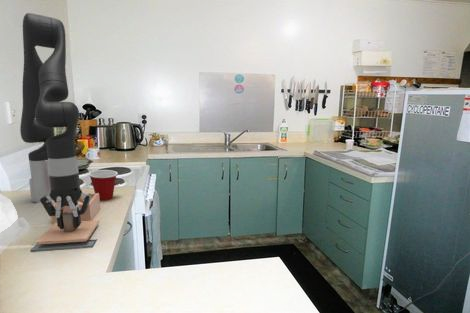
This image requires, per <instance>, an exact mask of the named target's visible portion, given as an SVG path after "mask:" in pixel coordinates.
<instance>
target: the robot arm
mask: <svg viewBox="0 0 470 313" xmlns="http://www.w3.org/2000/svg"><path fill="white" fill-rule="evenodd" d="M22 40H23V41H22V43H23V44H22V45H23V71H22V111H21V112H22V113H21V120H20V130H19V132H20V137H21V139H22V141H23V142H25V143H26V144H28V143H29V144H34V143H37V144H38V143H43V145H41V146H40V147H38V148H37V149H34V150H32V151H30V152H29V153H28V163H29V164H28V165H29V171H30V178H29V180H28V182H29V190H30V191H29V192H30V197H31V202H32V203H37V204H38V203H41V205H42V206H43V208H44V209H45V212H46V213H47V215H48V216H49V217H51V216H55V217H56V218H57V225H58V227H60V229H64V227H63V218H62V213H63V210H64V206H70V209H71V210H72V212H73V215H74V217H73V219H74V228H78V227H79V226H80V224H81V217H80V215H81V214H84V213H85V212H86V211H87V208H88V205H89V202H90V199H91V196H92V195H91V194H92V193H85V192H83V190H81V184H80V183H81V182H80V172H79V163H78V158H77V154H76V152H77V151H76V132H77V127H78V123H79V120H80V110H79V108H78V106H77V105H76V103H74V102H73V101H65V100H67V99H68V97H69V87H68V86H69V85H68V80H67V75H66V74H67V73H66V70H67V69H66V62H67V52H66V49H67V48H66V46H67V44H66V41H67V39H66V30H65V25H64V23H63V21H61V19H57V18H54V17H50V16H46V15H41V14H36V13H31V12H28V13H26V14H24V16H23V18H22ZM36 47H41V48H49V49H53V52H52V53H51V54H50V56H48V57H47V59H45V61H44V62H43V61H42V59H41V57H40V55H39V54H38V51H37V49H36ZM55 128H65V130H64V132H62V133H61V134H57V135H55ZM80 197H82V201H84V202H83V205H82V208H81V209H80V208H79V203H78V200H79V198H80ZM52 202H54V203H56V209H55V208H54V206H53V203H52Z"/></svg>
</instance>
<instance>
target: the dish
mask: <svg viewBox="0 0 470 313" xmlns="http://www.w3.org/2000/svg"><path fill="white" fill-rule="evenodd" d="M90 194H91V195H92V196H91V199H90V202H89V205H88V208H87V211H86V212H85V213H84V214H81V215H80V217H81V221H93V219H94V218H95V217H96V215H97V214H98V213H99V211H100V210H101V201H100V198H99V193H95V192H94V193H93V192H92V193H90ZM78 202H81V203H83V202H84V201H82V197H80V198H79V200H78ZM52 204H53V206H54V208H55V209H56V203H55V202H53V203H52ZM82 205H83V204H79V208H80V209H81V208H82ZM67 211H72V210H71V209H70V206H64V210H63V213H64V212H67ZM50 217H51V224H52V225H54V224H55V223H57V218H56V217H55V216H50Z"/></svg>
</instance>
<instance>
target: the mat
mask: <svg viewBox="0 0 470 313" xmlns="http://www.w3.org/2000/svg"><path fill="white" fill-rule="evenodd" d="M97 240H98V239H88V240H87V241H82V242H68V243H53V244H39V245H37V244H36V243H35V245H34V246H33V247H32V248H30V253H34V252H47V251H51V252H52V251H63V250H75V249H77V250H78V249H91V248H94V247H95V246H94V245H95V244H96V242H97Z"/></svg>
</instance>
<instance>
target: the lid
mask: <svg viewBox="0 0 470 313" xmlns="http://www.w3.org/2000/svg"><path fill="white" fill-rule="evenodd" d="M73 217H74V215H73V212H72V211H67V212H64V213H62V218H63V227H64V229H60V227H58V225H57V223H55V224H52V226H51V227H50V228H48V230H47V231H45V233H44V234H42V236H41V237H40V238H38V240H37V241H36V242H35V245H36V244H37V245H39V244H53V243H68V242H82V241H87V240H90V239H89V238H90V237H91V236H92V234H93V233H94V231H95V229H96V228H97V227H98V225H99V223H100V220H92V221H81V224H80V226H79V227H78V228H74V219H73Z"/></svg>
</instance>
